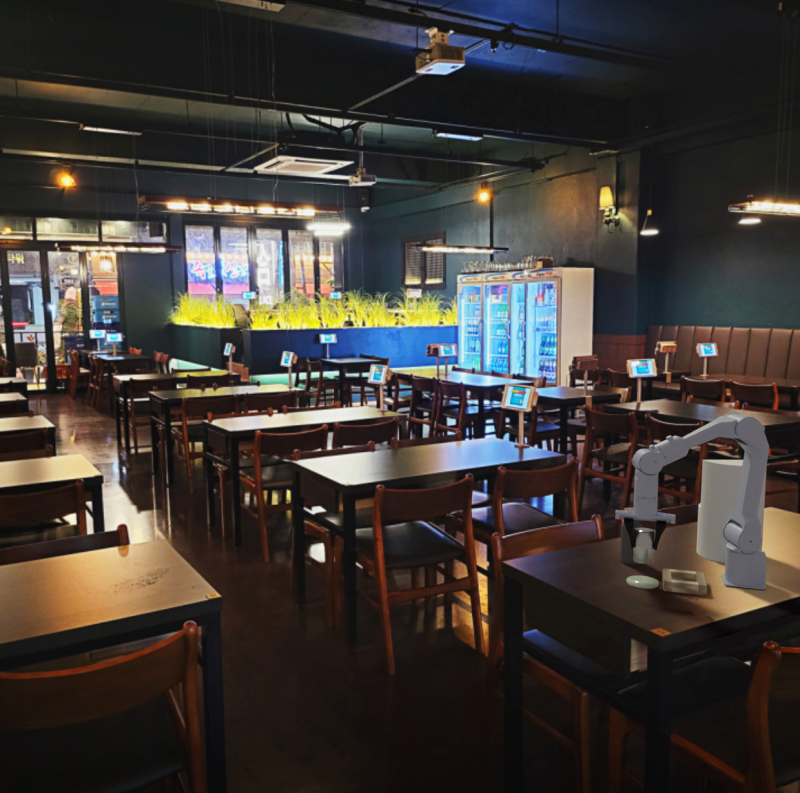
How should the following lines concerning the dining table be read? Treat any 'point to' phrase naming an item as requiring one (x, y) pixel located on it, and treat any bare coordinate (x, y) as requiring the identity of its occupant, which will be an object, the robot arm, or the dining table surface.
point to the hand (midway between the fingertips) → (643, 547)
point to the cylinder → (719, 506)
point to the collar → (684, 581)
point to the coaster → (642, 582)
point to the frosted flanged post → (643, 545)
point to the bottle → (627, 543)
